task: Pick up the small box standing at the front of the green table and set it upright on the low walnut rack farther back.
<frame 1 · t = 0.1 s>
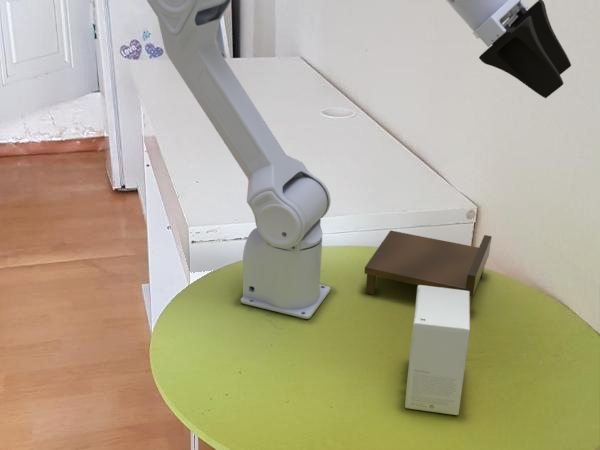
hand: (559, 81, 74), 32 cm above the table, tool tilted 50°, fingers open, 7 cm apart
small box: (432, 391, 81), on the table
rack: (425, 284, 101), on the table
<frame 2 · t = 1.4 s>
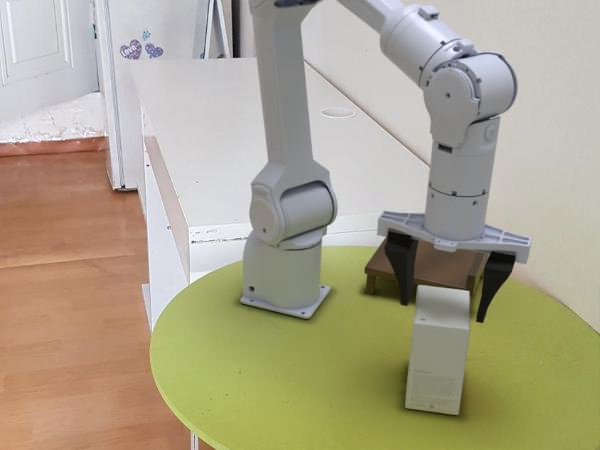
hand: (443, 309, 76), 10 cm above the table, tool pointing down, fingers open, 7 cm apart
nothing on the table moved.
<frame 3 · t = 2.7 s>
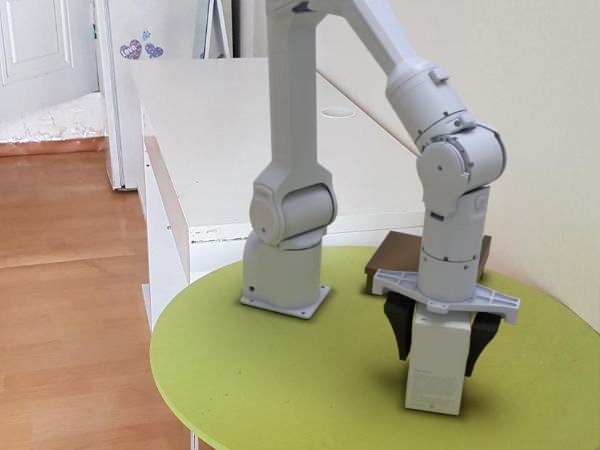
hand: (435, 363, 79), 3 cm above the table, tool pointing down, fingers closed on small box, 6 cm apart
small box: (432, 391, 81), on the table, touching gripper
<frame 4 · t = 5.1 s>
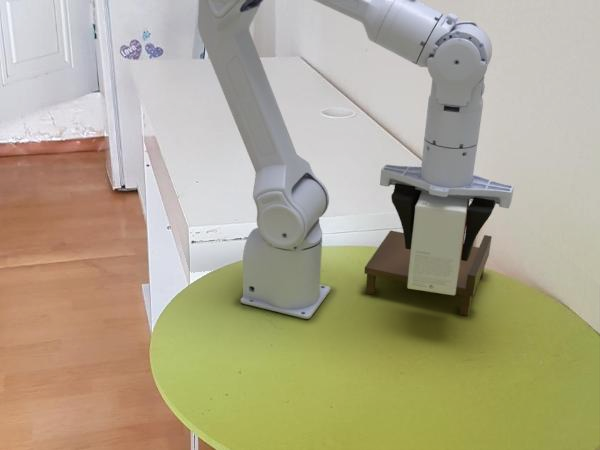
hand: (437, 251, 87), 10 cm above the table, tool pointing down, fingers closed on small box, 6 cm apart
small box: (434, 278, 89), point 7 cm above the table, touching gripper
when the fingers open (7 cm above the table, at t = 7.6 s): small box stays where it is, resting on rack.
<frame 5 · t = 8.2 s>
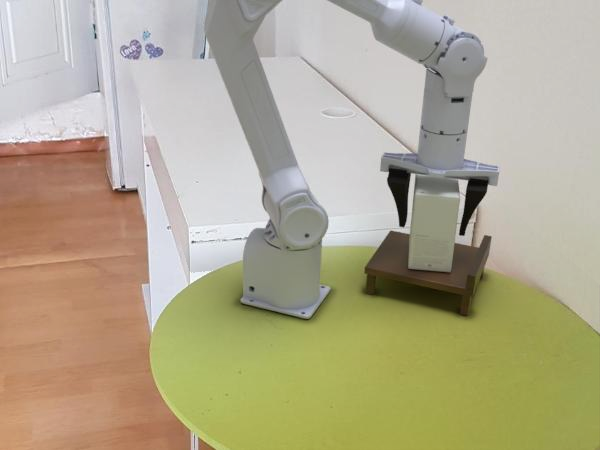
hand: (432, 228, 97), 8 cm above the table, tool pointing down, fingers open, 7 cm apart
small box: (428, 258, 99), point 4 cm above the table, touching rack
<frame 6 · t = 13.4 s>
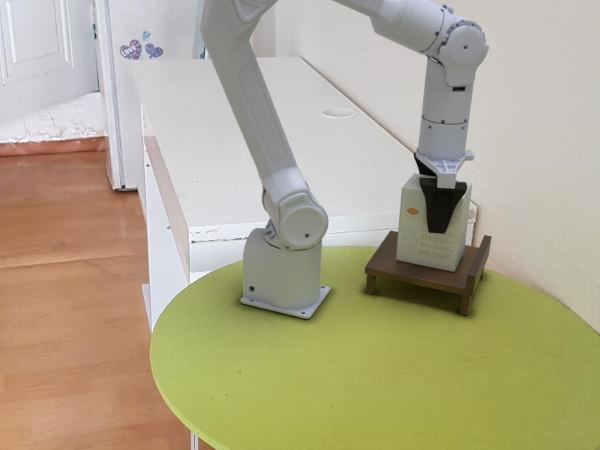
hand: (433, 218, 97), 10 cm above the table, tool pointing down
small box: (429, 259, 99), point 4 cm above the table, touching gripper, rack
when the fingers open (10 cm above the table, at t = 16.6 s): small box stays where it is, resting on rack.
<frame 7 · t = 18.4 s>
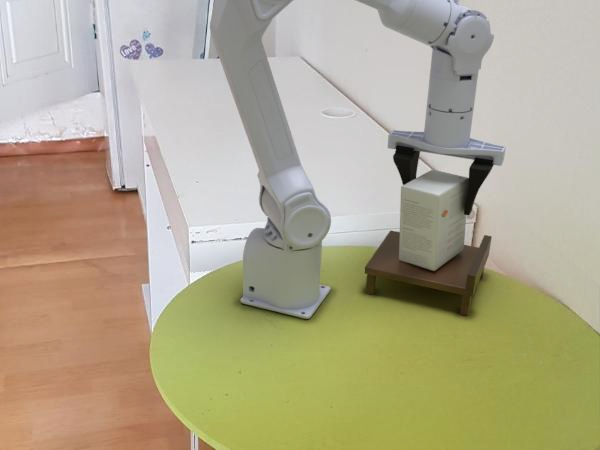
hand: (438, 206, 99), 10 cm above the table, tool pointing down, fingers open, 7 cm apart
small box: (431, 257, 100), point 4 cm above the table, touching gripper, rack
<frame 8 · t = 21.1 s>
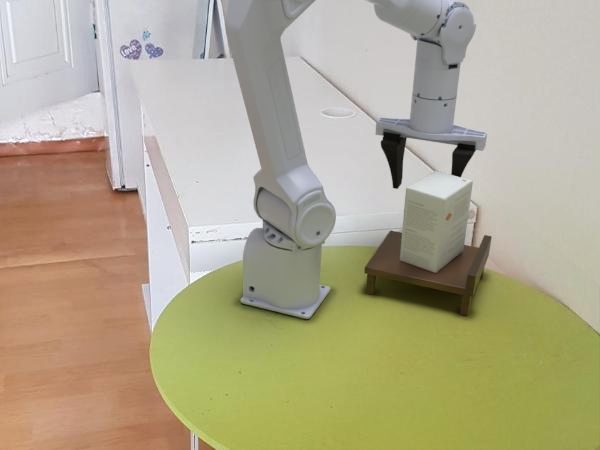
hand: (424, 190, 103), 10 cm above the table, tool pointing down, fingers open, 7 cm apart
small box: (431, 257, 100), point 4 cm above the table, touching rack
at the end: small box inside the target area on the rack (0.5 cm from its centre), point 3.8 cm above the rack's base; small box tilted 0°; the gripper is holding nothing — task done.
